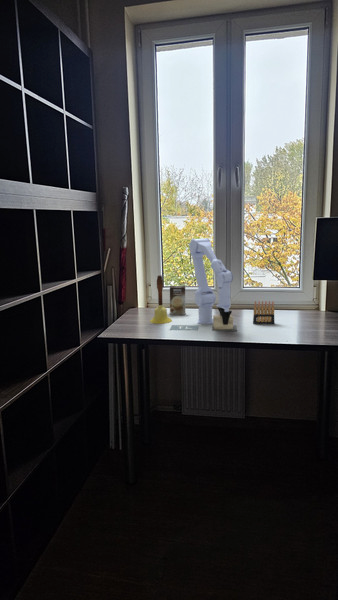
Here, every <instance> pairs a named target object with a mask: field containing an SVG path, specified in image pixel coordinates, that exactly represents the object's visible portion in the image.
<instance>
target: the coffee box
mask: <svg viewBox="0 0 338 600" xmlns="http://www.w3.org/2000/svg"><path fill="white" fill-rule="evenodd" d="M173 315H174V316H183V315H186V286H185V285H169V316H173Z"/></svg>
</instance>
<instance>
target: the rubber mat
mask: <svg viewBox="0 0 338 600" xmlns="http://www.w3.org/2000/svg"><path fill="white" fill-rule="evenodd" d="M211 331H212V332H213V331H215V332H217V331H218V332H221V331H222V332H238V327H237V325H234V324H233V329H216V330H215V329H214V327H213V326H212V329H211Z"/></svg>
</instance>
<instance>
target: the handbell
mask: <svg viewBox="0 0 338 600" xmlns="http://www.w3.org/2000/svg"><path fill="white" fill-rule="evenodd" d="M163 289H164V279H163V276H162V274H161V275H160V274H158V275H157V278H156V290H157V299H158V304H157V307H156V308H155V309H154V316H153V317H152V318H151V319H150V320H149V323H151V324H155V325H157V324H158V325H163V324H169V323H172V322H173V320H172V318H170V317H169V316H168V311H167V310H168V309H167V308H166V306H165V307H164V306H163V291H164V290H163Z"/></svg>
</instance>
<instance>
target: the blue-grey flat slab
mask: <svg viewBox="0 0 338 600" xmlns="http://www.w3.org/2000/svg"><path fill="white" fill-rule="evenodd" d="M199 326H200V325H199V324H198V325H194V324H193V325H191V324H189V325H188V324H185V325H181V324H172V325H170V328H169V331H198V330H199Z"/></svg>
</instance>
